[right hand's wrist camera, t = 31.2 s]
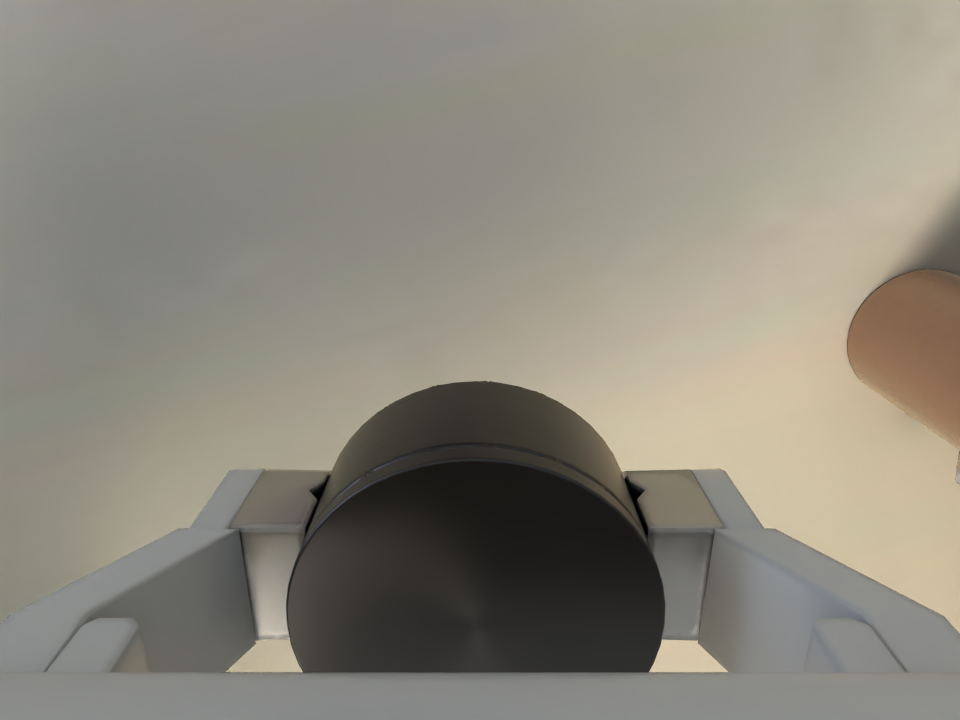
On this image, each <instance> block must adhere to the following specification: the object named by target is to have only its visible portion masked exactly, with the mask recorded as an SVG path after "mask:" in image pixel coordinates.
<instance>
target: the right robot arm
mask: <svg viewBox="0 0 960 720" xmlns="http://www.w3.org/2000/svg"><path fill="white" fill-rule="evenodd" d="M331 472H332V471H323V470H270V469H268V470H265V469H235V470H231V471H229V472H228V473H227V474H226V476H225V477H224V479H223V480H222V482H221V483H220V485H219V486H218V487H217V489H216V490H215V492H214V493H213V495H212V496H211V498H210V499H209V500H208V502H207V503H206V505H205V506H204V508H203V509H202V511H201V512H200V513H199V515H198V516H197V518H196V519H195V521H194V522H193V524H192V525H191V526H190V528H189V529H177V530H175V531H173V532H171V533H169V534H167V535H165V536H163V537H161V538H159V539H158V540H156V541H154V542H152V543H150V544H148V545H146V546H144V547H142V548H140V549H138V550H136V551H134V552H132V553H130V554H128V555H126V556H124V557H122V558H120V559H118V560H116V561H115V562H113V563H111V564H109V565H107V566H105V567H103V568H101V569H99V570H97V571H95V572H93V573H91V574H89V575H87V576H85V577H83V578H81V579H79V580H77V581H75V582H73V583H72V584H70V585H68V586H66V587H64V588H62V589H60V590H58V591H56V592H54V593H52V594H50V595H48V596H46V597H44V598H42V599H40V600H38V601H36V602H34V603H32V604H30V605H29V606H27V607H25V608H23V609H21V610H19V611H17V612H15V613H13V614H11V615H9V616H8V617H7V619H6V620H5V621H4V622H3V623H2V624H1V625H0V720H960V634H959V633H958V631H957V630H956V629H955V628H954V627H953V626H952V625H951V624H950V623H949V622H948V620H947V619H946V618H945V617H944V616H942V615H940V614H939V613H937V612H935V611H933V610H931V609H929V608H927V607H925V606H923V605H921V604H919V603H917V602H915V601H913V600H912V599H910V598H908V597H906V596H904V595H902V594H900V593H898V592H896V591H894V590H892V589H890V588H888V587H886V586H884V585H883V584H881V583H879V582H877V581H875V580H873V579H871V578H869V577H867V576H865V575H863V574H861V573H859V572H857V571H856V570H854V569H852V568H850V567H848V566H846V565H844V564H842V563H840V562H838V561H836V560H834V559H832V558H830V557H829V556H827V555H825V554H823V553H821V552H819V551H817V550H815V549H813V548H811V547H809V546H807V545H805V544H803V543H801V542H800V541H798V540H796V539H794V538H792V537H790V536H788V535H786V534H784V533H782V532H780V531H778V530H776V529H764V527H763V526H762V524H761V523H760V521H759V520H758V518H757V517H756V515H755V514H754V513H753V511H752V510H751V508H750V507H749V505H748V504H747V502H746V501H745V499H744V498H743V496H742V495H741V494H740V492H739V491H738V489H737V488H736V486H735V485H734V483H733V482H732V480H731V479H730V478H729V476H728V475H727V473H726V472H725V471H724V470H722V469H699V470H651V471H624V472H622V474H623V477H624V480H625V482H626V485H627V487H628V490H629V492H630V495H631V498H632V500H633V503H634V505H635V508H636V511H637V513H638V516H639V518H640V521H641V524H642V526H643V529H644V531H645V534H646V537H647V539H648V542H649V544H650V548H651V550H652V552H653V555H654V557H655V560H656V563H657V565H658V569H659V572H660V575H661V579H662V582H663V588H664V596H665V603H666V605H665V625H664V630H663V635H662V639H665V640H698V644H700V645H701V646H702V647H703V648H704V649H705V650H706V651H707V652H708V653H709V654H710V655H711V656H712V657H713V658H714V659H716V660H717V661H718V662H719V663H720V664H721V665H722V666H723V667H724V668H725V669H726V670H727V671H728V672H226V671H227V670H228V669H229V668H230V667H231V666H232V665H233V664H234V663H235V662H236V661H238V660H239V659H240V658H241V657H242V656H243V655H244V654H245V653H246V652H247V651H248V650H249V649H251V648H252V647H253V646H254V645H255V644H256V642H255V640H288V639H290V637H289V632H288V627H287V617H286V599H287V591H288V583H289V580H290V577H291V573H292V570H293V566H294V563H295V561H296V558H297V556H298V553H299V551H300V549H301V546H302V543H303V541H304V539H305V536H306V534H307V531H308V529H309V526H310V524H311V521H312V519H313V516H314V514H315V511H316V509H317V506H318V504H319V502H320V499H321V497H322V494H323V492H324V489H325V487H326V484H327V482H328V479H329V477H330V474H331Z"/></svg>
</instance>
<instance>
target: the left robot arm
mask: <svg viewBox="0 0 960 720" xmlns="http://www.w3.org/2000/svg"><path fill="white" fill-rule="evenodd" d="M955 480H956V482H957V483H958V484H959V485H960V451H959V457H958V463H957V472H956V478H955Z"/></svg>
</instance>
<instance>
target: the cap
mask: <svg viewBox="0 0 960 720" xmlns="http://www.w3.org/2000/svg"><path fill="white" fill-rule="evenodd" d="M665 605H666V603H665V596H664V588H663V582H662V579H661V575H660V572H659V569H658V565H657V563H656V560H655V557H654V555H653V552H652V550H651V548H650V544H649V542H648V539H647V537H646V534H645V531H644V529H643V526H642V524H641V521H640V518H639V516H638V513H637V511H636V508H635V505H634V503H633V500H632V498H631V495H630V492H629V490H628V487H627V485H626V482H625V480H624V477H623V474H622V472H621V469H620V467H619V465H618V463H617V461H616V459H615V457H614V455H613V453H612V452H611V450H610V449H609V447H608V446H607V444H606V443H605V441H604V440H603V438H602V437H601V436H600V435H599V434H598V433H597V432H596V431H595V430H594V429H593V428H592V426H591V425H590V424H588V423H587V422H586V421H585V420H584V419H582V418H581V417H580V416H579V415H578V414H576V413H575V412H574V411H572V410H571V409H569V408H567V407H566V406H564V405H563V404H561V403H559V402H558V401H556V400H553V399H551V398H549V397H547V396H545V395H543V394H541V393H538V392H536V391H531V390H528V389H525V388H522V387H519V386H513V385H508V384H502V383H496V382H491V381H489V382H487V381H481V382H478V381H474V382H458V383H450V384H445V385H437V386H432V387H430V388H428V389H424V390H421V391H418V392H415V393H412V394H410V395H408V396H406V397H404V398H402V399H399V400H397V401H395V402H393V403H392V404H390V405H389V406H387V407H385V408H384V409H382V410H381V411H379V412H378V413H376V414H375V415H374V416H373V417H372V418H370V419H369V420H368V421H367V422H366V423H364V424H363V425H362V426H361V427H360V428H359V430H358V431H357V432H356V433H355V434H354V435H353V436H352V437H351V438H350V440H349V441H348V443H347V444H346V446H345V447H344V449H343V450H342V452H341V453H340V455H339V457H338V459H337V461H336V463H335V465H334V467H333V470H332V472H331V474H330V477H329V479H328V482H327V484H326V487H325V489H324V492H323V494H322V497H321V499H320V502H319V504H318V506H317V509H316V511H315V514H314V516H313V519H312V521H311V524H310V526H309V529H308V531H307V534H306V536H305V539H304V541H303V543H302V546H301V549H300V551H299V553H298V556H297V558H296V561H295V563H294V566H293V570H292V573H291V577H290V580H289V583H288V591H287V599H286V617H287V627H288V632H289V637H290V641H291V646H292V648H293V651H294V654H295V656H296V659H297V661H298V664H299V666H300V667H301V669H302V671H303V672H649V671H650V669H651V667H652V665H653V663H654V661H655V658H656V655H657V653H658V650H659V647H660V645H661V640H662V635H663V630H664V625H665Z"/></svg>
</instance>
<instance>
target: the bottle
mask: <svg viewBox="0 0 960 720" xmlns="http://www.w3.org/2000/svg"><path fill="white" fill-rule="evenodd" d="M847 349H848V357H849V360H850V364H851V366H852V368H853V370H854V372H855V373H856V375H857V376H858V378H859V379H860V380H861V381H862V382H863V383H865V384H866V385H867V386H868V387H870V388H871V389H873V390H874V391H876V392H877V393H878V394H880V395H881V396H883V397H884V398H886V399H887V400H888V401H890V402H891V403H893V404H894V405H896V406H897V407H899V408H900V409H901V410H903V411H904V412H906V413H907V414H909V415H910V416H911V417H913V418H914V419H916V420H917V421H919V422H920V423H921V424H923V425H924V426H926V427H927V428H929V429H930V430H932V431H933V432H934V433H936V434H937V435H939V436H940V437H942V438H943V439H944V440H946V441H947V442H949V443H950V444H952V445H953V446H954V447H956V448H957V449H959V450H960V276H959V275H956V274H953V273H950V272H946V271H942V270H934V269H928V270H918V271H913V272H909V273H906V274H903V275H900V276H898V277H895V278H894V279H892V280H890V281H888V282H886V283H885V284H884V285H882V286H881V287H879V288H878V289H877V290H876V291H874V292H873V293H872V294H871V295H870V296H869V297H868V298H867V299H866V301H865V302H864V303H863V304H862V306H861V307H860V308H859V310H858V312H857V314H856V315H855V317H854V320H853V322H852V324H851V327H850V331H849V335H848V347H847Z"/></svg>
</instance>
